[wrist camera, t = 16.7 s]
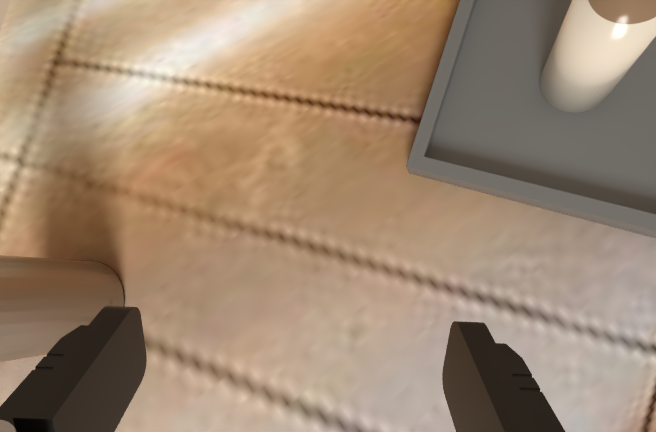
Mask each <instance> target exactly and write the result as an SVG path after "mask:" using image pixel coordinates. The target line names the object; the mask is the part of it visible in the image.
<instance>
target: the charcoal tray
mask: <svg viewBox="0 0 656 432" xmlns="http://www.w3.org/2000/svg"><path fill="white" fill-rule="evenodd" d="M571 2H572V0H460V2H459V5H458V8H457V11H456V14H455V17H454V20H453V23H452V26H451V29H450V32H449V36H448V39H447V42H446V45H445V48H444V51H443V54H442V57H441V60H440V63H439V66H438V69H437V73H436V76H435V79H434V82H433V85H432V88H431V91H430V94H429V97H428V100H427V103H426V107H425V110H424V113H423V116H422V119H421V122H420V125H419V128H418V131H417V134H416V137H415V140H414V144H413V147H412V150H411V153H410V156H409V159H408V162H407V165H406V167H407V169H408V172H409V173H411V174H414V175H418V176H422V177H426V178H430V179H433V180H437V181H441V182H445V183H449V184H452V185H456V186H460V187H464V188H468V189H471V190H475V191H479V192H483V193H487V194H490V195H494V196H498V197H502V198H506V199H509V200H513V201H517V202H521V203H525V204H528V205H532V206H536V207H540V208H544V209H547V210H551V211H555V212H559V213H562V214H566V215H570V216H574V217H578V218H581V219H585V220H589V221H593V222H597V223H600V224H604V225H608V226H612V227H616V228H619V229H623V230H627V231H631V232H635V233H638V234H642V235H646V236H650V237H654V238H656V36H655V38H654V39H653V40H652V41H651V43H650V44H649V45H648V46H647V48H646V49H645V50H644V51H643V53H642V54H641V55H640V56H639V58H638V59H637V60H636V61H635V63H634V64H633V65H632V66H631V68H630V69H629V70H628V71H627V73H626V74H625V75H624V76H623V78H622V79H621V80H620V82H619V83H618V84H617V85H616V87H615V88H614V89H613V90H612V92H611V93H610V94H609V95H608V97H607V98H606V99H605V100H604V101H603V102H602V103H601V104H600V105H598V106H597V107H595V108H593V109H591V110H588V111H585V112H579V113H570V112H564V111H561V110H558V109H556V108H554V107H553V106H551V105H550V104H549V103H548V102H547V101H546V100H545V98H544V97H543V95H542V93H541V90H540V77H541V74H542V71H543V69H544V66H545V64H546V62H547V59H548V57H549V54H550V52H551V50H552V47H553V45H554V42H555V40H556V38H557V35H558V33H559V30H560V28H561V26H562V23H563V21H564V18H565V16H566V14H567V11H568V9H569V6H570V4H571Z"/></svg>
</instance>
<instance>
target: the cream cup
mask: <svg viewBox="0 0 656 432" xmlns="http://www.w3.org/2000/svg"><path fill="white" fill-rule="evenodd" d="M655 36H656V0H572V2H571V4H570V6H569V9H568V11H567V14H566V16H565V18H564V21H563V23H562V26H561V28H560V30H559V33H558V35H557V38H556V40H555V42H554V45H553V47H552V50H551V52H550V54H549V57H548V59H547V62H546V64H545V66H544V69H543V71H542V74H541V77H540V90H541V93H542V95H543V97H544V98H545V100H546V101H547V102H548V103H549V104H550V105H551V106H553V107H554V108H556V109H558V110H561V111H564V112H570V113H579V112H585V111H588V110H591V109H593V108H595V107H597V106H598V105H600V104H601V103H602V102H603V101H604V100H605V99H606V98H607V97H608V95H609V94H610V93H611V92H612V90H613V89H614V88H615V87H616V85H617V84H618V83H619V82H620V80H621V79H622V78H623V76H624V75H625V74H626V73H627V71H628V70H629V69H630V68H631V66H632V65H633V64H634V63H635V61H636V60H637V59H638V58H639V56H640V55H641V54H642V53H643V51H644V50H645V49H646V48H647V46H648V45H649V44H650V43H651V41H652V40H653V39H654V38H655Z"/></svg>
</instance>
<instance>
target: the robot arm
mask: <svg viewBox="0 0 656 432" xmlns="http://www.w3.org/2000/svg"><path fill="white" fill-rule="evenodd" d="M123 306H124V295H123V289H122V286H121V282H120V280H119V278H118V277H117V275H116V274H115V272H114V271H113V270H112V269H111V268H109V267H108V266H107V265H105V264H102V263H100V262H93V261H78V260H65V259H49V258H33V257H17V256H1V255H0V362H4V361H10V360H16V359H22V358H28V357H33V356H39V355H45V354H47V357H44V358H43V359H42V360H41V361H40V362H39V363H38V365H37V366H36V369H35V370H32V371H31V373H30V374H29V375H28V376H27V377H26V378H25V379H24V380H23V382H22V383H21V384H20V385H19V386H18V387H17V388H16V390H15V391H14V392H13V393H12V394H11V395H10V396H9V398H8V399H7V400H6V401H5V402H4V403H3V404H2V405H1V407H0V432H114V431H115V429H116V428H117V426H118V424H119V422H120V420H121V418H122V417H123V415H124V413H125V411H126V409H127V407H128V405H129V404H130V402H131V400H132V398H133V396H134V394H135V392H136V391H137V389H138V387H139V385H140V383H141V381H142V379H143V376H144V373H145V369H146V349H145V342H144V335H143V327H142V320H141V314H140V311H139V309H138V308H137V307H123ZM443 389H444V394H445V397H446V401H447V404H448V407H449V410H450V413H451V417H452V420H453V423H454V426H455V429H456V432H565V431H564V429H563V427H562V425H561V424H560V422H559V420H558V419H557V417H556V415H555V413H554V412H553V410H552V408H551V407H550V405H549V403H548V402H547V400H546V398H545V396H544V395H543V393H542V392H540V388H539V386H538V384H537V383H536V381H535V379H534V378H532V374H531V372H530V371H529V369H528V367H527V366H526V364H525V362H524V360H523V359H522V358H521V357H520V356H519V355H518V354H517V353H516V352H515V351H513V350H512V349H511V348H510V347H509V346H508V345H507V344H498V343H495V341H494V339H493V337H492V336H491V334H490V332H489V330H488V328H487V326H486V325H485V324H484V323H479V322H455V321H454V322H453V323H452V325H451V329H450V334H449V339H448V345H447V350H446V355H445V361H444V366H443Z"/></svg>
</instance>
